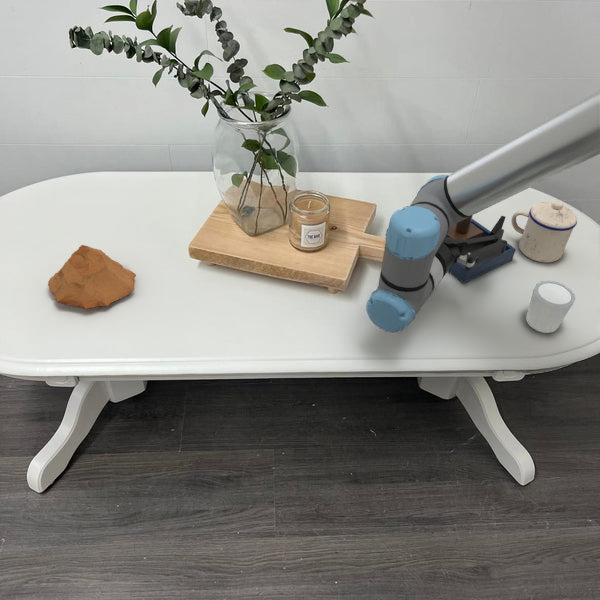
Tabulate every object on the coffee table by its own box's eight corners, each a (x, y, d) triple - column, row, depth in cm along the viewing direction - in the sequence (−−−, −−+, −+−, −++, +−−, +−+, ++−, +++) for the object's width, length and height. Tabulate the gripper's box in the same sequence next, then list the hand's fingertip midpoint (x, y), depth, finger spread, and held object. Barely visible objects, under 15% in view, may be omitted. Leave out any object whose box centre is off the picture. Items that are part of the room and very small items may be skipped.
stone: (43, 293, 109) (37, 241, 106) (119, 282, 117) (115, 234, 114) (64, 314, 98) (58, 257, 95) (146, 300, 106) (143, 247, 103)
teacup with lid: (568, 248, 120) (589, 201, 112) (554, 270, 115) (574, 222, 107) (513, 227, 125) (529, 180, 117) (497, 247, 120) (512, 199, 112)
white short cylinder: (534, 303, 107) (546, 274, 102) (568, 322, 104) (582, 293, 99) (515, 321, 104) (526, 292, 99) (550, 341, 100) (564, 312, 95)
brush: (479, 246, 118) (497, 187, 109) (453, 257, 116) (469, 197, 106) (461, 233, 122) (477, 174, 112) (436, 244, 119) (450, 184, 109)
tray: (512, 260, 117) (516, 249, 115) (463, 283, 111) (466, 271, 109) (452, 217, 127) (454, 206, 125) (404, 236, 122) (407, 224, 120)
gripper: (359, 257, 107) (407, 205, 120) (487, 310, 97) (525, 247, 111) (363, 224, 102) (413, 174, 115) (499, 276, 92) (537, 215, 106)
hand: (468, 210), depth 113 cm, fingers open, 13 cm apart
